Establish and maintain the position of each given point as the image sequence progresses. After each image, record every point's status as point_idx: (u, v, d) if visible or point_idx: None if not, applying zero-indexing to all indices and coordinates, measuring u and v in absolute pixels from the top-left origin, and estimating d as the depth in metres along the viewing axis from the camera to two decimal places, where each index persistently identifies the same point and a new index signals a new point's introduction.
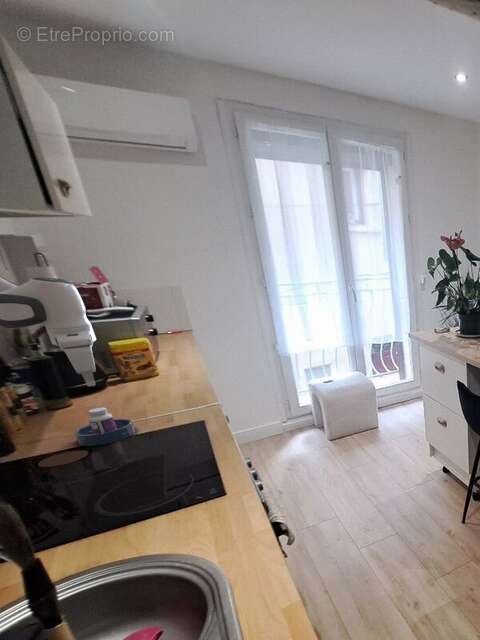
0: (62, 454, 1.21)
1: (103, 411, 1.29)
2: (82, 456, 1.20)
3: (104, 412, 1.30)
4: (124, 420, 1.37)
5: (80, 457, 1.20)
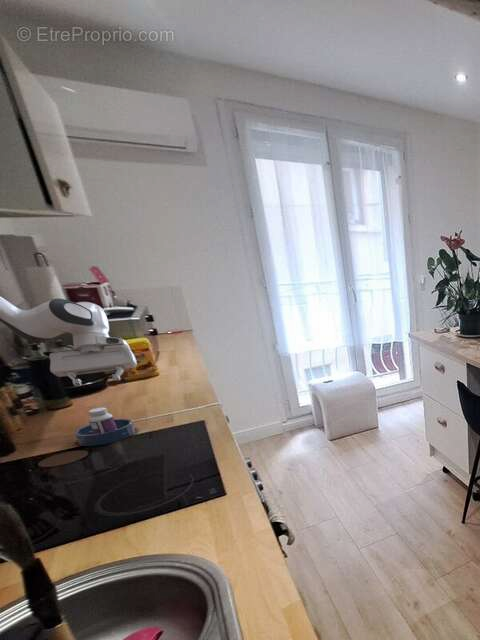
0: (62, 454, 1.21)
1: (103, 411, 1.29)
2: (82, 456, 1.20)
3: (104, 412, 1.30)
4: (124, 420, 1.37)
5: (80, 457, 1.20)
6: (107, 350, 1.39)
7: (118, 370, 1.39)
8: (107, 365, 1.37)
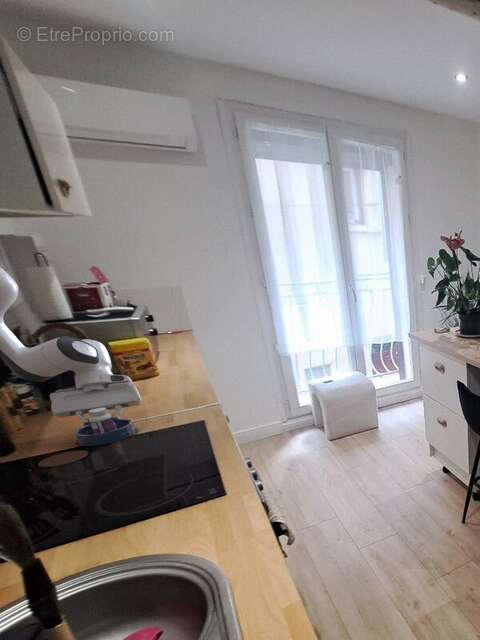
0: (62, 454, 1.21)
1: (103, 411, 1.29)
2: (82, 456, 1.20)
3: (104, 412, 1.30)
4: (124, 420, 1.37)
5: (80, 457, 1.20)
6: (111, 388, 1.34)
7: (118, 409, 1.33)
8: (112, 404, 1.33)
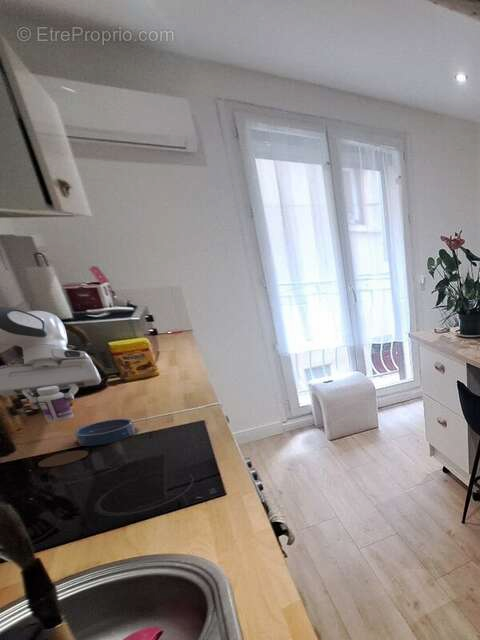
0: (62, 454, 1.21)
1: (53, 389, 1.15)
2: (82, 456, 1.20)
3: (55, 391, 1.16)
4: (124, 420, 1.37)
5: (80, 457, 1.20)
6: (65, 365, 1.20)
7: (72, 388, 1.19)
8: (65, 382, 1.18)
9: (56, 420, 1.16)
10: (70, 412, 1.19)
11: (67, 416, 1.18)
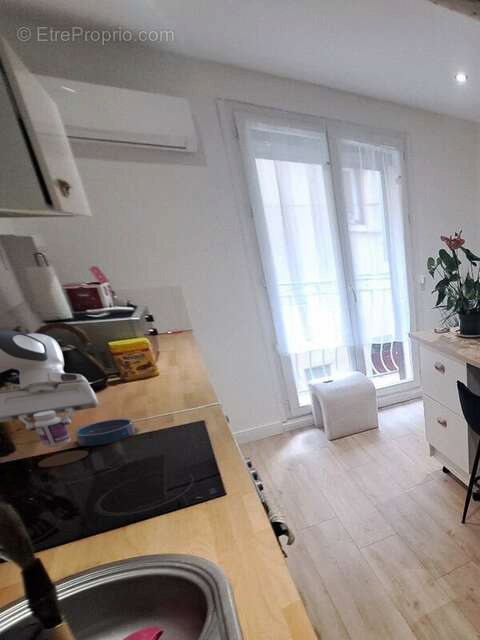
0: (62, 454, 1.21)
1: (50, 414, 1.14)
2: (82, 456, 1.20)
3: (52, 416, 1.14)
4: (124, 420, 1.37)
5: (80, 457, 1.20)
6: (62, 388, 1.19)
7: (69, 412, 1.18)
8: (62, 406, 1.17)
9: (53, 445, 1.15)
10: (67, 436, 1.18)
11: (64, 441, 1.17)
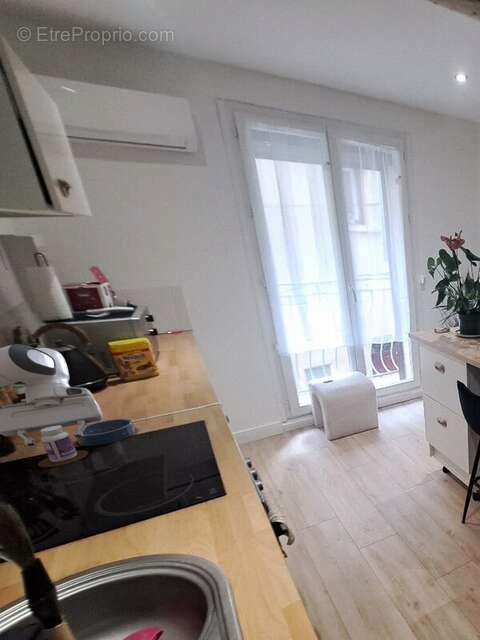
0: None
1: (57, 429, 1.16)
2: (82, 456, 1.20)
3: (59, 431, 1.16)
4: (124, 420, 1.37)
5: (80, 457, 1.20)
6: (67, 402, 1.20)
7: (81, 425, 1.20)
8: (67, 420, 1.19)
9: (60, 460, 1.17)
10: (74, 451, 1.19)
11: (71, 455, 1.19)
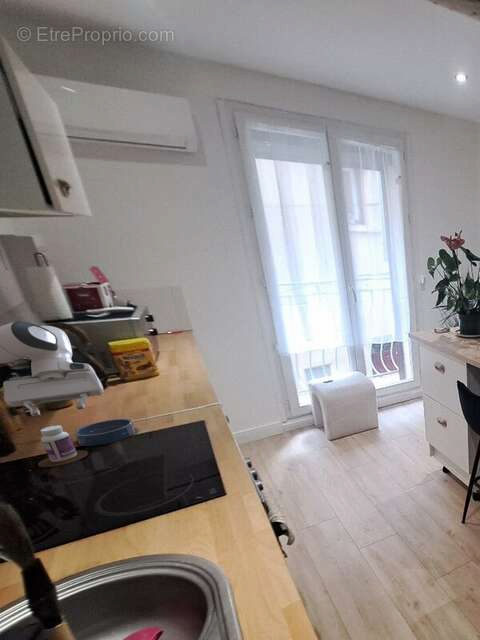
0: None
1: (57, 429, 1.16)
2: (82, 456, 1.20)
3: (59, 431, 1.16)
4: (124, 420, 1.37)
5: (80, 457, 1.20)
6: (70, 376, 1.28)
7: (83, 398, 1.28)
8: (70, 393, 1.26)
9: (60, 460, 1.17)
10: (74, 451, 1.19)
11: (71, 455, 1.19)
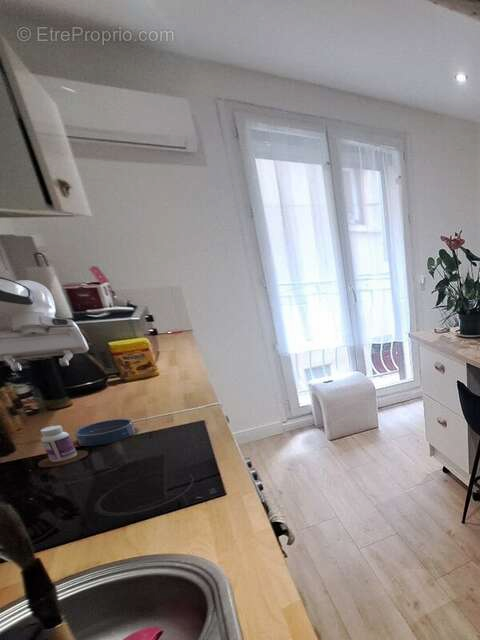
0: None
1: (57, 429, 1.16)
2: (82, 456, 1.20)
3: (59, 431, 1.16)
4: (124, 420, 1.37)
5: (80, 457, 1.20)
6: (53, 332, 1.23)
7: (66, 354, 1.23)
8: (53, 348, 1.22)
9: (60, 460, 1.17)
10: (74, 451, 1.19)
11: (71, 455, 1.19)
